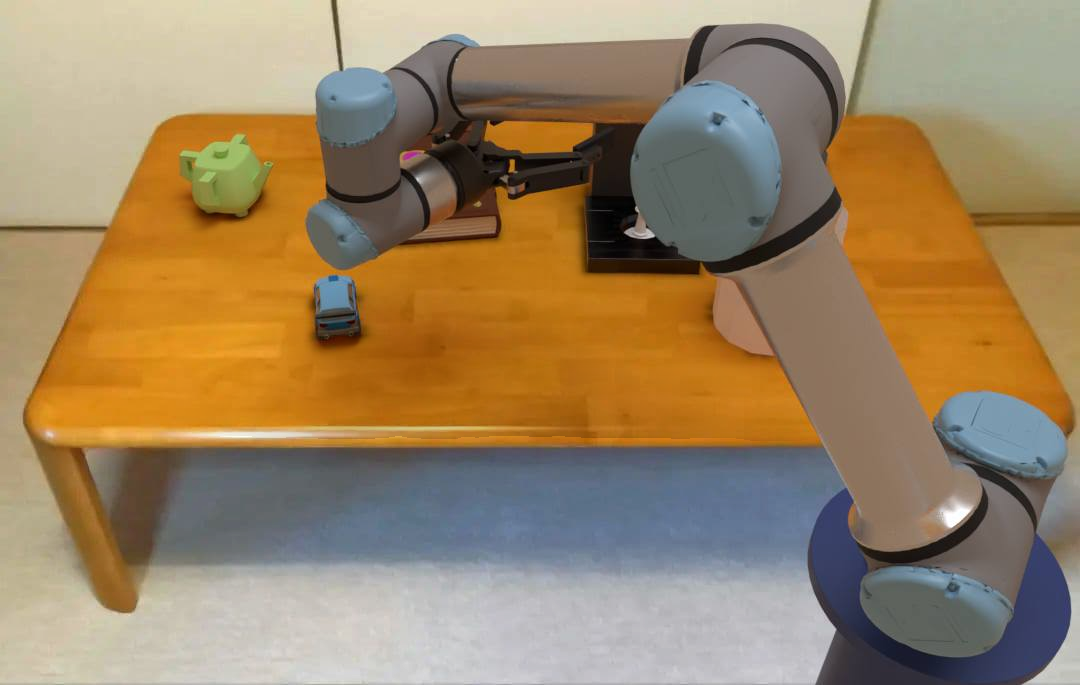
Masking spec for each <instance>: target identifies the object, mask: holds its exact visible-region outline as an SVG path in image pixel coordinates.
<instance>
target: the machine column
mask: <svg viewBox="0 0 1080 685" xmlns="http://www.w3.org/2000/svg"><path fill="white" fill-rule="evenodd" d="M610 126H611V127H613V128H615V142H614V149H613V150H611V151H609V152H608V153H606V154H604V155H602V157H601V159H600V160H599V161H597V162H595V163H594V164H592V165H590V181H589V183H588V192H589V196H633V192H632V187H631V177H630V168H631V159H632V155H633V152H634V147H635V144H636V141H637V139H638V137H639V135H640V133H641V132H642V130H643V128H644V127H645V126H646V124H614V123H592V131H591V132H592V134H591V137H592V136H594V135H595V134H597V133H599V132H601V131H603V130H605V129H607V128H609V127H610Z"/></svg>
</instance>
